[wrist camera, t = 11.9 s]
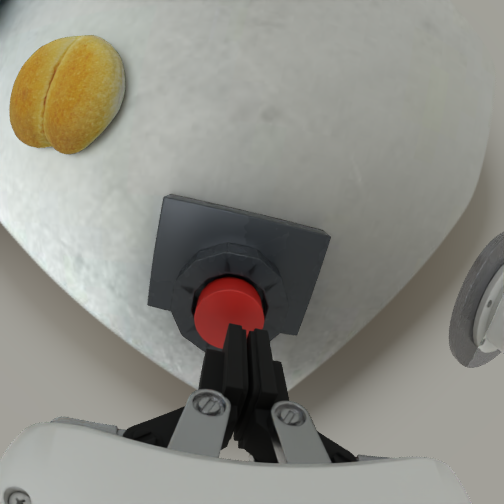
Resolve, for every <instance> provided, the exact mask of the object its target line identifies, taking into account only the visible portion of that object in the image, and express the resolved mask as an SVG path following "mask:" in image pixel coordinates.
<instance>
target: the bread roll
mask: <svg viewBox="0 0 504 504" xmlns="http://www.w3.org/2000/svg"><path fill="white" fill-rule="evenodd" d="M124 92H125V73H124V67H123V63H122V60H121V58H120V56H119V54H118V52H117V51H116V50H115V49H114V48H113V47H112V46H111V44H110V43H108V42H107V41H105V40H104V39H102V38H100V37H97V36H94V35H84V36H72V37H65V38H61V39H57V40H54V41H52V42H50V43H48V44H46V45H44V46H42V47H41V48H39V49H38V50H37V51H36V52H35V53H34V54H33V55H32V56H31V57H30V58H29V59H28V60H27V61H26V62H25V64H24V65H23V66H22V68H21V70H20V72H19V74H18V76H17V78H16V80H15V83H14V86H13V89H12V93H11V98H10V122H11V125H12V128H13V131H14V133H15V134H16V136H17V137H18V138H19V140H21V141H22V142H23V143H25V144H27V145H29V146H31V147H36V148H45V147H54V148H55V149H56V150H57V151H59V152H60V153H64V154H73V153H77V152H80V151H81V150H83V149H85V148H86V147H87V146H89V145H90V144H91V143H92V142H93V141H94V140H95V139H96V138H97V137H98V136H99V135H100V134H101V133H102V132H103V131H104V130H105V128H106V127H107V126H108V125H109V124H110V122H111V121H112V120H113V118H114V117H115V116H116V114H117V113H118V111H119V109H120V106H121V103H122V101H123V97H124Z"/></svg>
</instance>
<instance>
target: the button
mask: <svg viewBox="0 0 504 504" xmlns="http://www.w3.org/2000/svg"><path fill="white" fill-rule="evenodd" d="M194 322H195V327H196V329H197V331H198V333H199V335H200V336H201V337H202V338H203V339H204V340H205V341H206V342H207V343H209V344H211V345H213V346H215V347H217V348H221V349H223V345H224V341H225V337H226V333H227V329H228V325H229V323H232V324H236V325H241V326H242V329H245V330H246V336H248V333H249V331H254V329H255V328H257V329H263V326H264V313H263V308H262V303H261V299H260V296H259V294H258V292H257V290H256V289H255V288H254V287H253V286H252V285H251V284H249V283H248V282H246V281H244V280H242V279H239V278H234V277H223V278H219V279H216V280H214V281H212V282H210V283H209V284H208V285H207V286H205V288H204V289H203V290H202V292H201V293H200V295H199V299H198V302H197V306H196V310H195V315H194Z"/></svg>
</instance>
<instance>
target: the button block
mask: <svg viewBox="0 0 504 504" xmlns="http://www.w3.org/2000/svg"><path fill="white" fill-rule="evenodd" d="M330 238H331V236H329V235H328V234H327V233H325V232H324V231H323V230H320V229H316V228H312V227H308V226H305V225H301V224H297V223H293V222H289V221H285V220H281V219H277V218H273V217H269V216H265V215H261V214H257V213H253V212H249V211H244V210H240V209H236V208H232V207H227V206H223V205H219V204H214V203H210V202H205V201H201V200H196V199H192V198H187V197H183V196H178V195H173V194H169V195H167V196H165V197H164V198H163V203H162V209H161V214H160V220H159V225H158V231H157V237H156V243H155V250H154V256H153V263H152V271H151V278H150V286H149V295H148V306H152V307H156V308H160V309H164V310H169V311H171V312H172V315H173V317H174V319H175V321H176V324H177V326H178V328H179V330H180V332H181V334H182V336H184V337H185V338H186V339H188V340H189V341H190V342H192V343H193V344H194V345H196V346H197V347H198V348H200V349H201V350H203V351H204V352H206V348H207V349H212V350H217V351H222V349H221V348H217V347H215V346H213V345H211V344H209V343H207V342H206V341H205V340H204V339H203V338H202V337H201V336H200V335H199V333H198V331H197V329H196V327H195V322H194V315H195V310H196V306H197V302H198V299H199V295H200V293H201V292H202V290H203V289H204V288H205V286H207V285H208V284H209V283H210V282H212V281H214V280H216V279H219V278H223V277H234V278H239V279H242V280H244V281H246V282H248V283H249V284H251V285H252V286H253V287H254V288H255V289H256V290H257V292H258V294H259V296H260V299H261V303H262V308H263V313H264V326H263V329H262V330H267V331H268V335H269V341H271V340H272V339H273V338H275V337H276V336H277V335H278V334H279V333H283V334H290V335H297V334H298V331H299V328H300V326H301V323H302V320H303V318H304V315H305V312H306V309H307V307H308V304H309V301H310V298H311V295H312V292H313V290H314V287H315V284H316V281H317V278H318V275H319V272H320V269H321V266H322V263H323V260H324V257H325V254H326V251H327V248H328V244H329V241H330Z"/></svg>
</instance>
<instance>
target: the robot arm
mask: <svg viewBox="0 0 504 504" xmlns="http://www.w3.org/2000/svg"><path fill="white" fill-rule="evenodd" d="M473 340H474V343H475V345H476V347H477V348H479V349H480V350H481V351H482V352H485V353H489V352H493V351H495V350H497V349H499V350H500V351H501V352H502V353H503V354H504V265H503V266H502V267H501V268H500V269H499V270H498V271H497V273H496V274H495V275H494V277H493V278H492V280H491V281H490V283H489V285H488V287H487V288H486V290H485V292H484V294H483V297H482V299H481V301H480V304H479V307H478V309H477V312H476V316H475V320H474V326H473ZM233 431H234V440H235V441H238V448H241V449H245V450H246V451H247V452H249V453H250V455H249V461H239V460H231V459H222V458H219V454H220V450H222V449H223V448H225V447H227V445H228V442H229V440H230V439H231V437H232V434H233ZM0 504H472V502H471V500H470V498H469V496H468V494H467V493H466V491H465V489H464V487H463V485H462V484H461V482H460V480H459V479H458V477H457V476H456V474H455V473H454V472H453V470H452V469H451V468H450V467H449V466H448V465H447V464H446V463H444V462H443V461H440V460H437V459H433V458H427V457H399V458H387V457H375V456H365V455H358V456H357V457H355V456H354V455H353V454H352V453H350V452H349V451H348V450H345V449H344V448H342V447H341V446H339V445H338V444H336V443H335V442H333V441H332V440H330V439H328V438H327V437H325V436H324V435H322V434H321V433H319V432H318V431H317V430H316V428H315V425H314V424H313V421H312V419H311V417H310V415H309V413H308V411H307V410H306V409H305V408H304V407H303V406H302V405H300V404H298V403H296V402H292V401H289V397H288V392H287V387H286V382H285V377H284V373H283V368H282V364H281V362H279V361H273V359H272V353H271V347H270V341H269V335H268V331H267V330H262V329H257V328H255V329H254V331H249V333H248V336H246V330H245V329H242V326H241V325H236V324H232V323H229V325H228V329H227V333H226V337H225V341H224V345H223V349H222V351H217V350H212V349H207V348H206V352H205V357H204V361H203V366H202V371H201V377H200V383H199V389H198V390H196V391H195V392H193V393H192V394H191V395H190V396H189V398H188V401H187V403H186V405H185V407H182V408H180V409H177V410H174V411H172V412H169V413H167V414H164V415H162V416H159V417H156V418H154V419H151V420H148V421H146V422H143V423H140V424H138V425H134V426H132V427H130V428H128V429H127V430H122V429H118V428H117V426H114V425H107V424H100V423H95V422H89V421H84V420H79V419H74V418H69V417H58V418H55V419H53V420H52V421H51V422H45V423H37V424H33V425H31V426H29V427H27V428H25V429H24V430H23V431H22V432H21V433H20V434H19V435H18V436H17V437H16V438H15V439H14V440H13V442H12V443H11V444H10V446H9V447H8V449H7V450H6V451H5V453H4V454H3V456H2V458H1V459H0Z"/></svg>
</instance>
